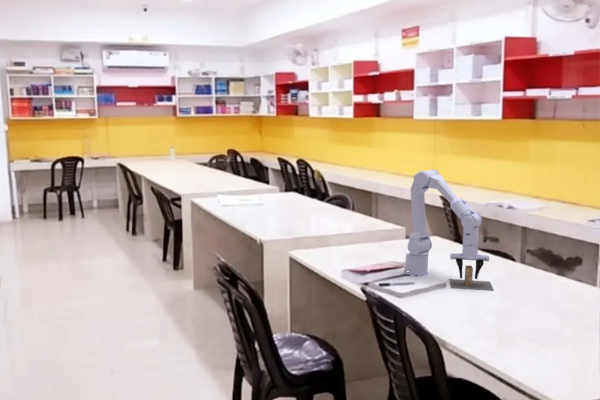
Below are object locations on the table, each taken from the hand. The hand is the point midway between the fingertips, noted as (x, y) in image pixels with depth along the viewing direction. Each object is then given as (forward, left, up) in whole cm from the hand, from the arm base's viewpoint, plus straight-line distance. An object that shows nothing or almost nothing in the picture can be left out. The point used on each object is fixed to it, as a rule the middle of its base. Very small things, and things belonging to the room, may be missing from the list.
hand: (468, 278), depth 238 cm
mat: (+1, 0, -3) cm, 3 cm away
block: (0, 0, -3) cm, 3 cm away
